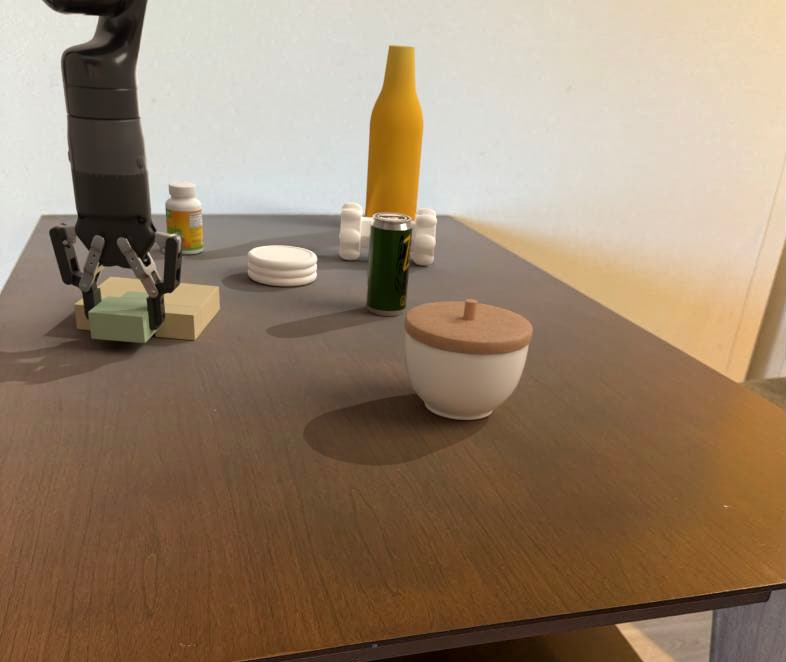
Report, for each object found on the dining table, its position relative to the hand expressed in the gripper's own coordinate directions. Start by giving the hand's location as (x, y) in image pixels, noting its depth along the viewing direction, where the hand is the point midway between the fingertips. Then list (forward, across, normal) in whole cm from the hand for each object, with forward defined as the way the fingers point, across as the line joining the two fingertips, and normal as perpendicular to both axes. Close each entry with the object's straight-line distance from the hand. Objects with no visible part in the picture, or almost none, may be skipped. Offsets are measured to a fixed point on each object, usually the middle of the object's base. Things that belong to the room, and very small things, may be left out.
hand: (126, 325), depth 96 cm
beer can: (+3, -28, -21) cm, 35 cm away
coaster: (+2, -12, -32) cm, 34 cm away
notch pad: (+2, 0, -9) cm, 9 cm away
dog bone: (+3, -26, -47) cm, 54 cm away
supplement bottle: (+2, +5, -42) cm, 43 cm away
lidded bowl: (+3, -38, +9) cm, 39 cm away
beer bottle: (+3, -25, -68) cm, 73 cm away
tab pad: (+1, 0, -1) cm, 2 cm away
